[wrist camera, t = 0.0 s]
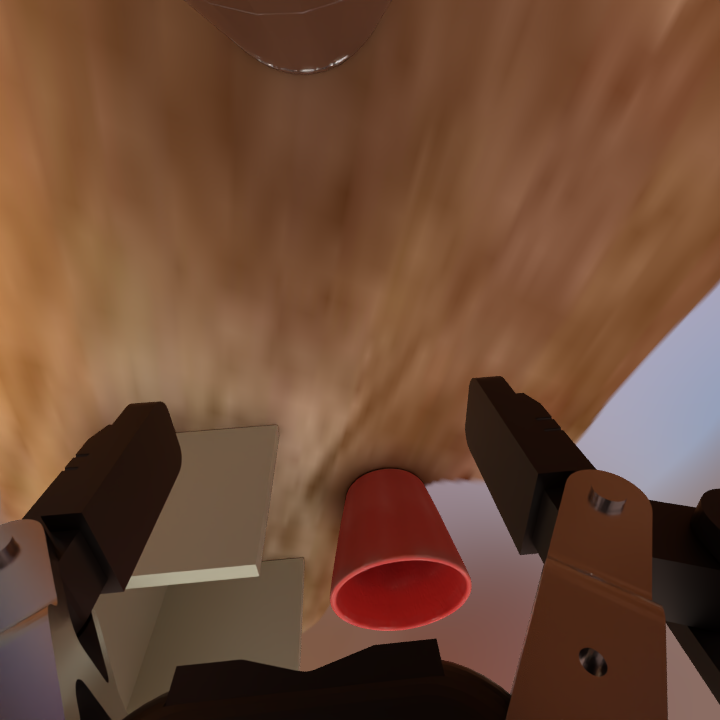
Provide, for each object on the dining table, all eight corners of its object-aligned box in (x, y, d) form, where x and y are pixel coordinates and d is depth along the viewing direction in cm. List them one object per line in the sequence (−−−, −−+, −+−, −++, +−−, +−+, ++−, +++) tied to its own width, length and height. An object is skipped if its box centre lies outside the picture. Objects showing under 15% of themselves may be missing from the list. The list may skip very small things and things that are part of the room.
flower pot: (410, 537, 42) (431, 640, 34) (313, 518, 39) (310, 624, 31) (461, 471, 37) (499, 572, 29) (354, 443, 34) (364, 546, 26)
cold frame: (91, 439, 32) (-18, 590, 22) (277, 424, 33) (255, 564, 22) (165, 577, 43) (115, 722, 32) (304, 563, 43) (298, 701, 33)
